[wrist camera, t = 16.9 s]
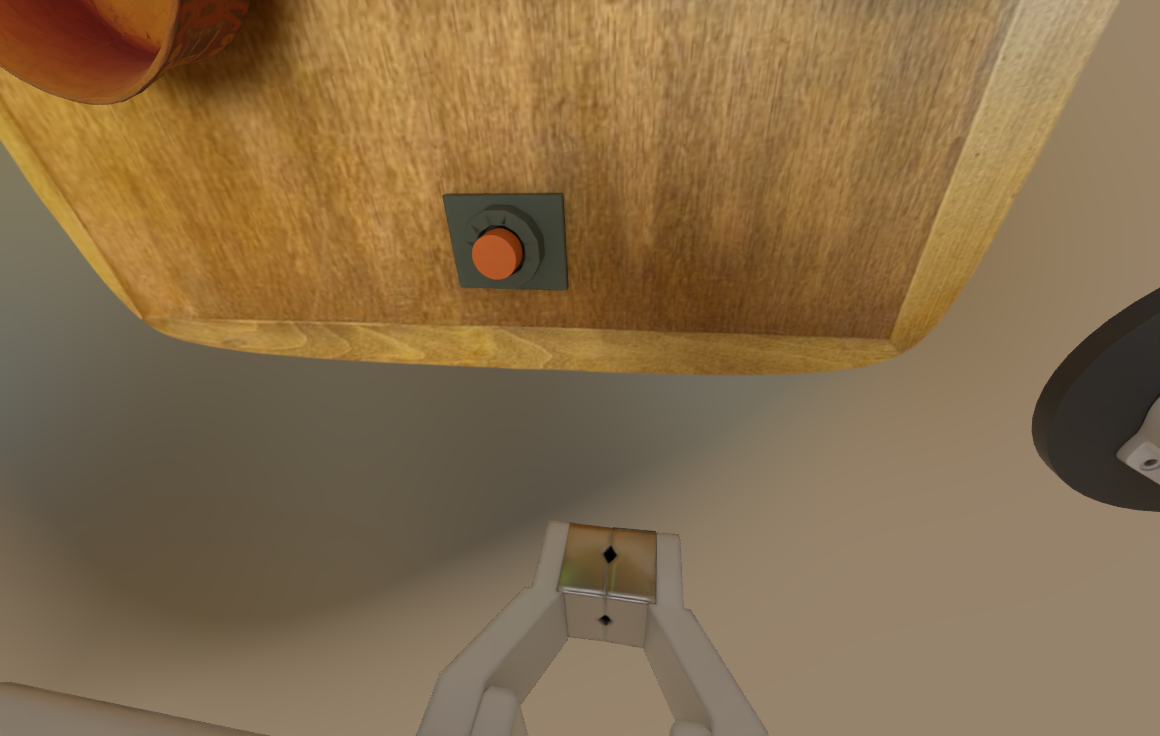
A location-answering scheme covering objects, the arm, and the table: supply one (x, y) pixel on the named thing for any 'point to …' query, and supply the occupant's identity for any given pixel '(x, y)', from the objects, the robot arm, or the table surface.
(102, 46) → the bowl
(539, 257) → the housing
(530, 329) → the table surface
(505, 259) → the button
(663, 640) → the robot arm
